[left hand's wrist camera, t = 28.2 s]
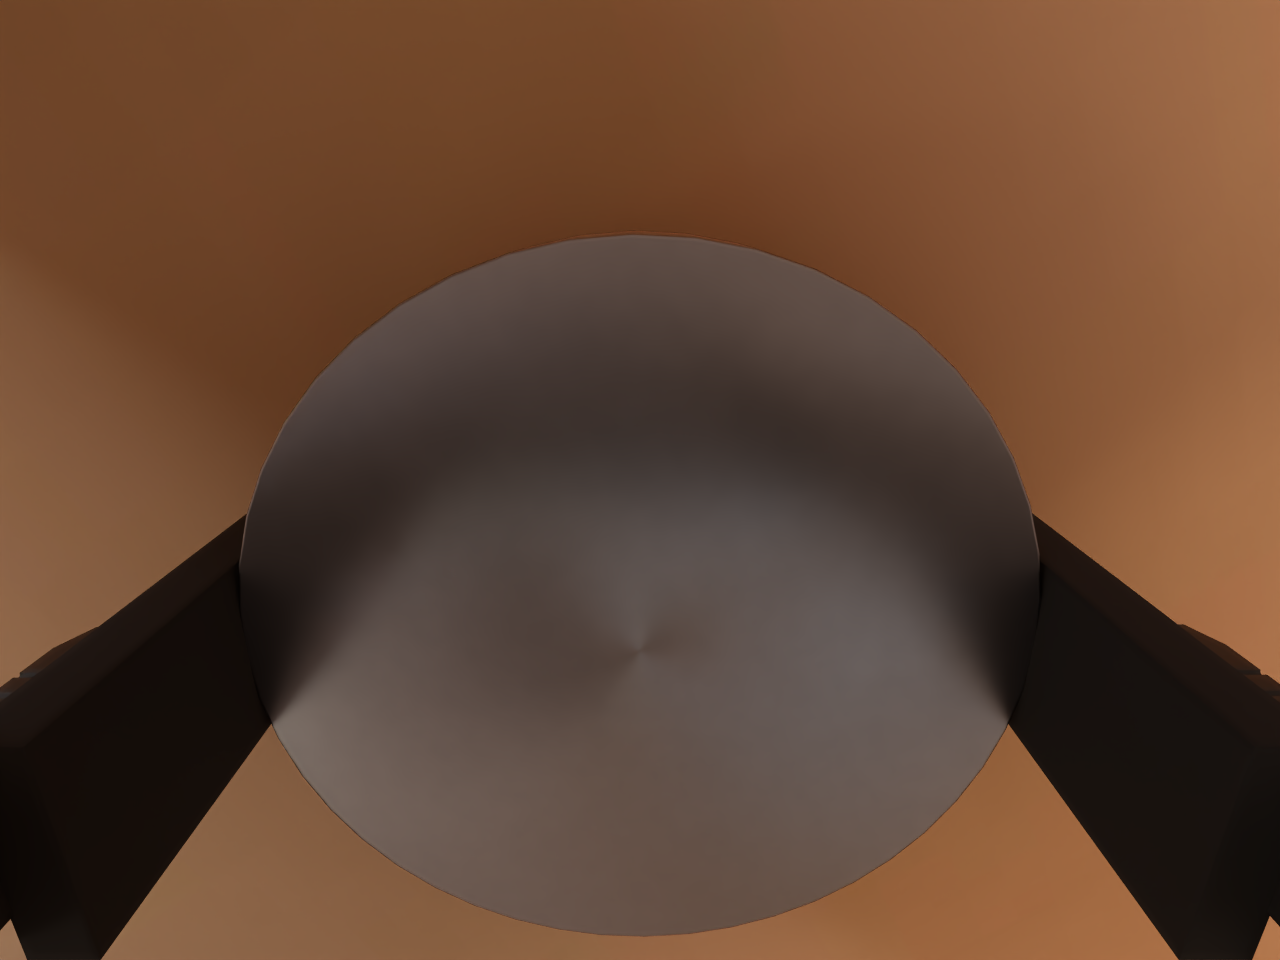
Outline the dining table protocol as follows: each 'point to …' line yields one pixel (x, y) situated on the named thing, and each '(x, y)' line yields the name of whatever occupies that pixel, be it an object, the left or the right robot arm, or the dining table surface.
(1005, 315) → the dining table surface
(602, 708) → the lid
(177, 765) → the left robot arm
